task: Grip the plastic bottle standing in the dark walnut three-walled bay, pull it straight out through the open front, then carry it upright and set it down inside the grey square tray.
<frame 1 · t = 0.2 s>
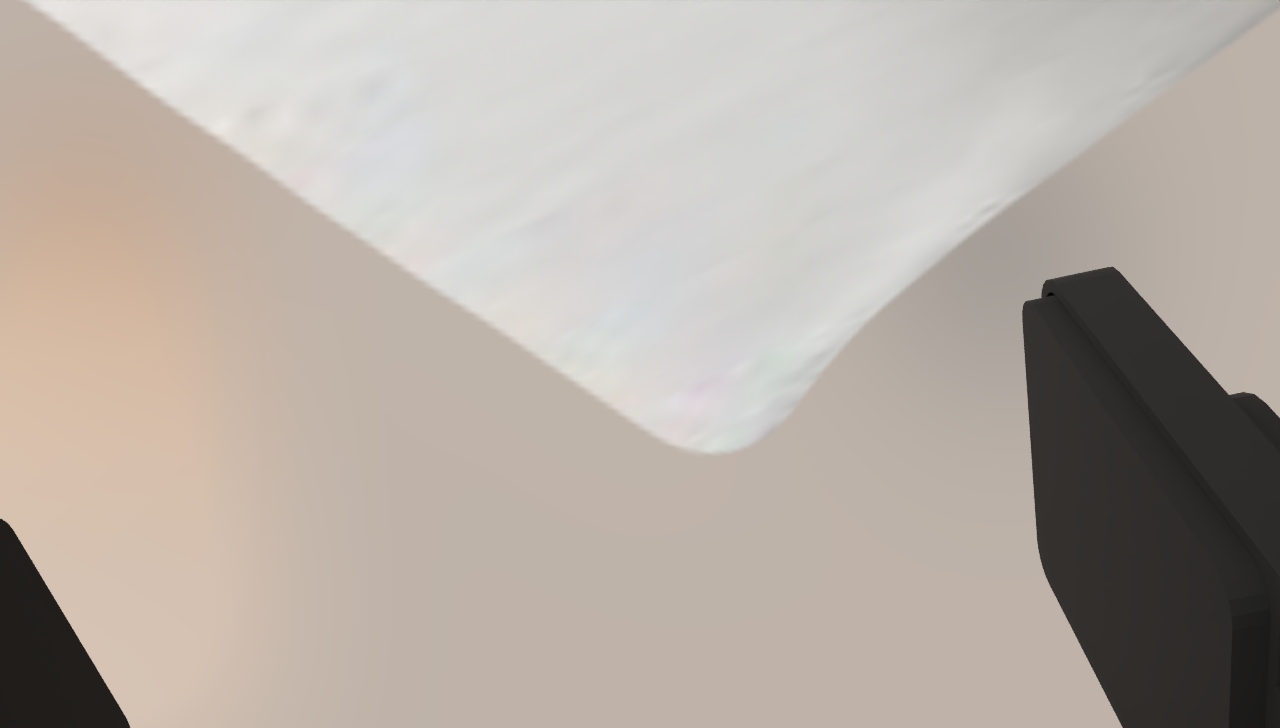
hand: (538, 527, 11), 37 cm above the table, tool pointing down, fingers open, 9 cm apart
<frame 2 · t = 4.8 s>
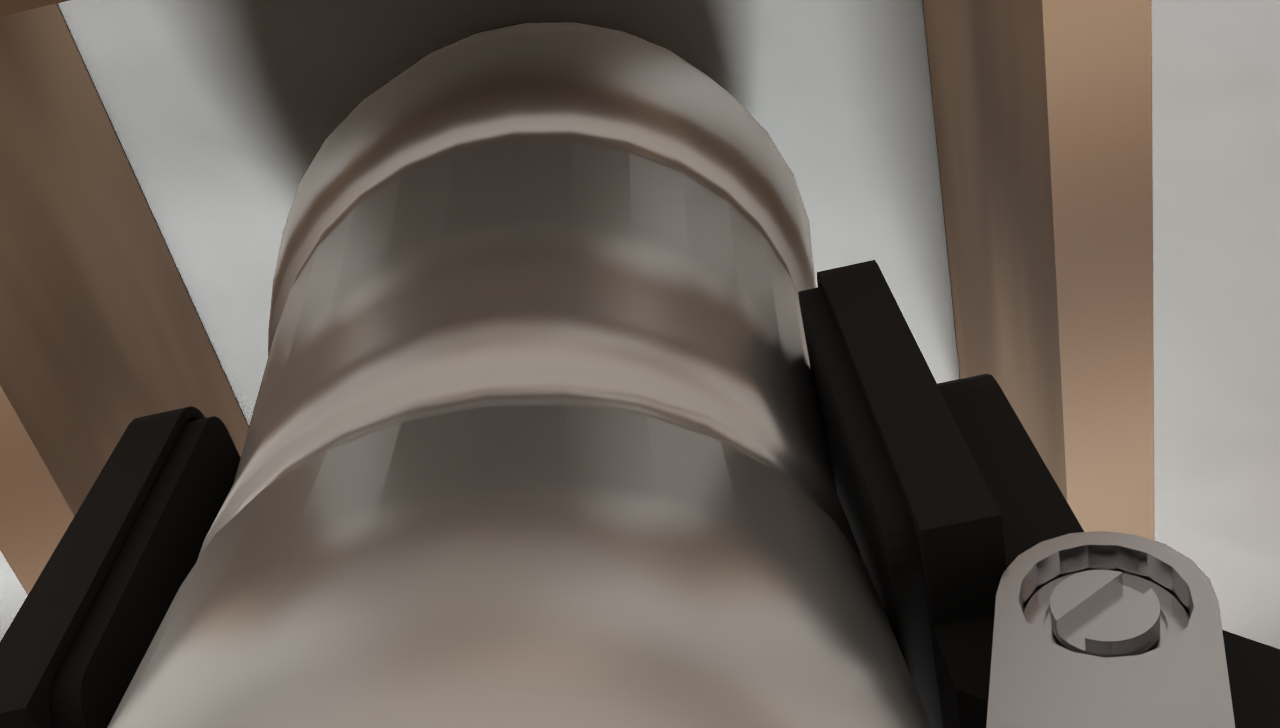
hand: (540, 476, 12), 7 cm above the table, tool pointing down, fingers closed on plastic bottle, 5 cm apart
walnut bay: (545, 182, 17), on the table
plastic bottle: (554, 207, 18), on the table, touching gripper
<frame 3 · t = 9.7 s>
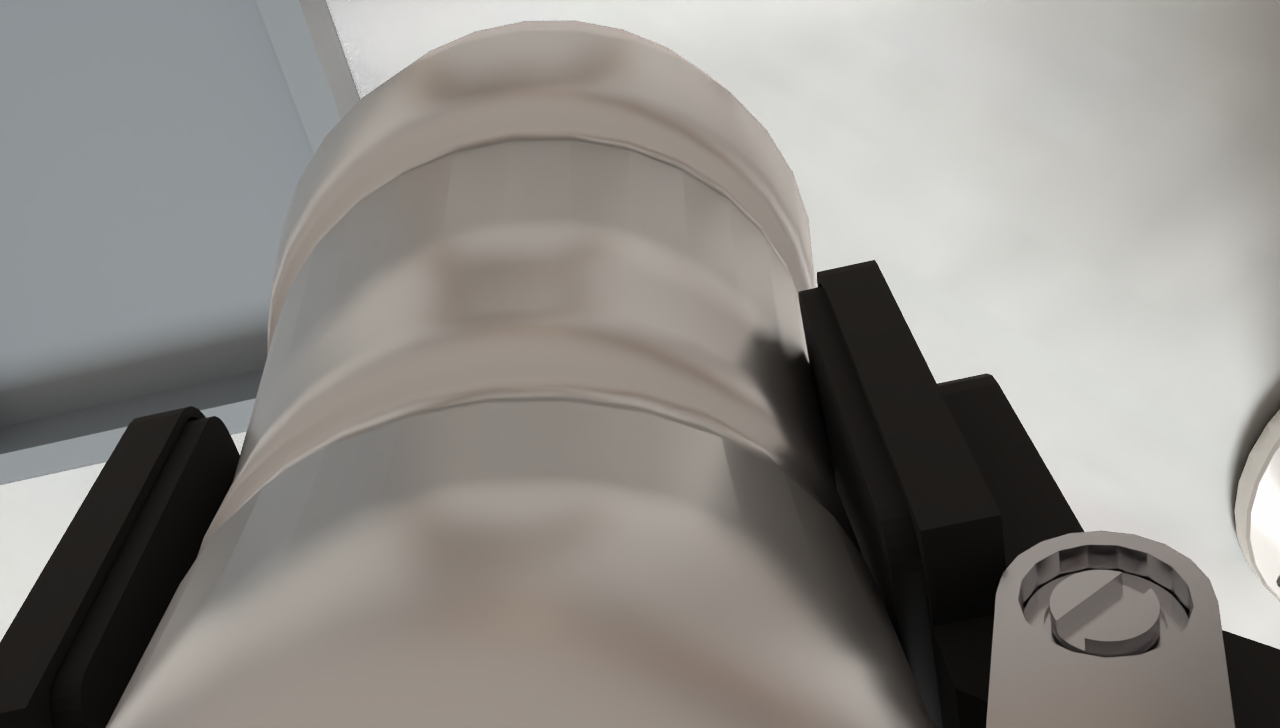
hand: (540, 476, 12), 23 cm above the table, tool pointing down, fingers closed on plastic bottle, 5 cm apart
grey square tray: (110, 178, 34), on the table
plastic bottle: (553, 206, 18), point 17 cm above the table, touching gripper
when the fingers open (8 cm above the table, at t = 14.6 s): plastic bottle stays where it is, resting on grey square tray.
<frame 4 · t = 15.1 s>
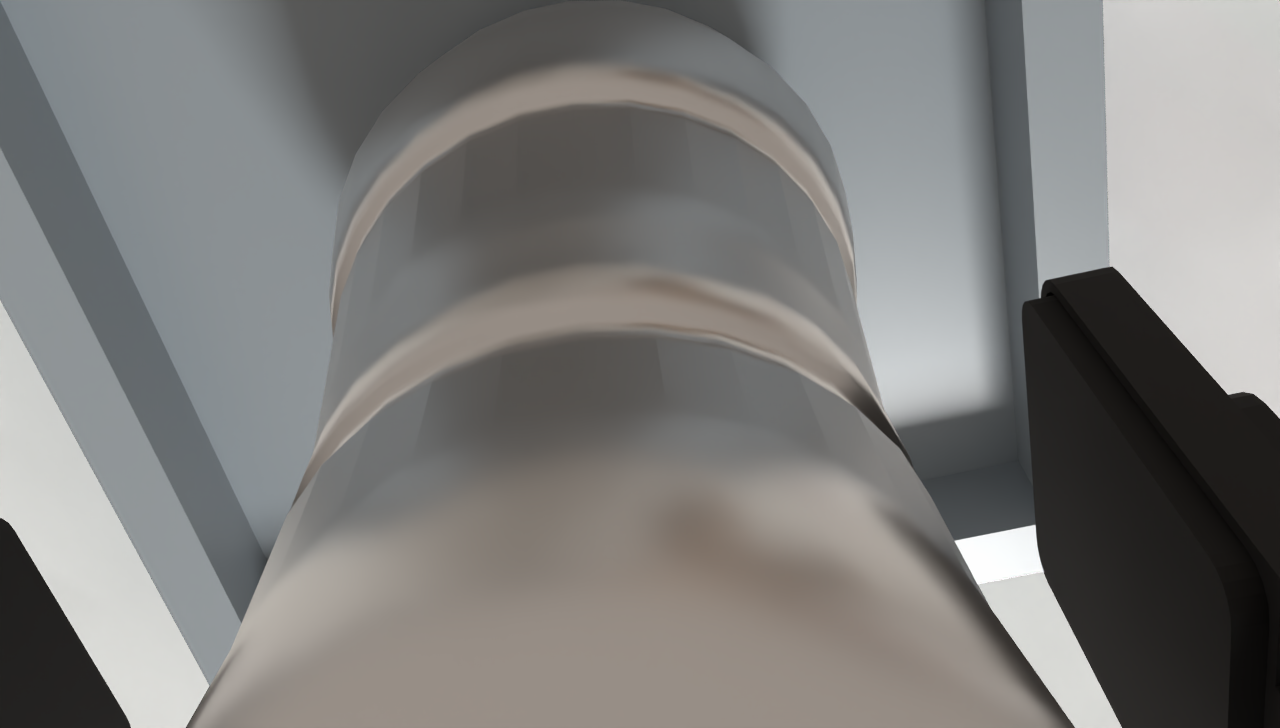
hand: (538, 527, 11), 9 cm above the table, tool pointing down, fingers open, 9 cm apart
grey square tray: (554, 175, 19), on the table
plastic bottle: (591, 182, 18), point 1 cm above the table, touching grey square tray
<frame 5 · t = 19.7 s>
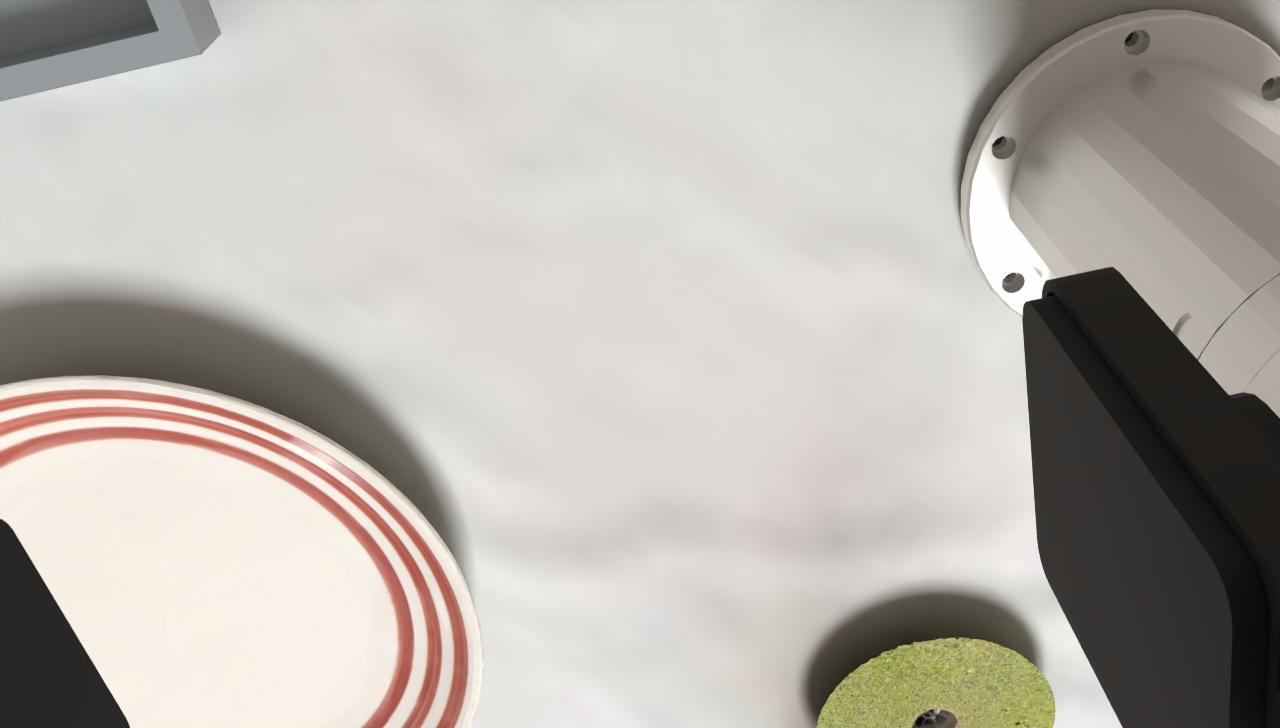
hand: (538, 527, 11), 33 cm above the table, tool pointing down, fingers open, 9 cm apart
dinner plate: (178, 604, 54), on the table
mat: (924, 696, 59), on the table
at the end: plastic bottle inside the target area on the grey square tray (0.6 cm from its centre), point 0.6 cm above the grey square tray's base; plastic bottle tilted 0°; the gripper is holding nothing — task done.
